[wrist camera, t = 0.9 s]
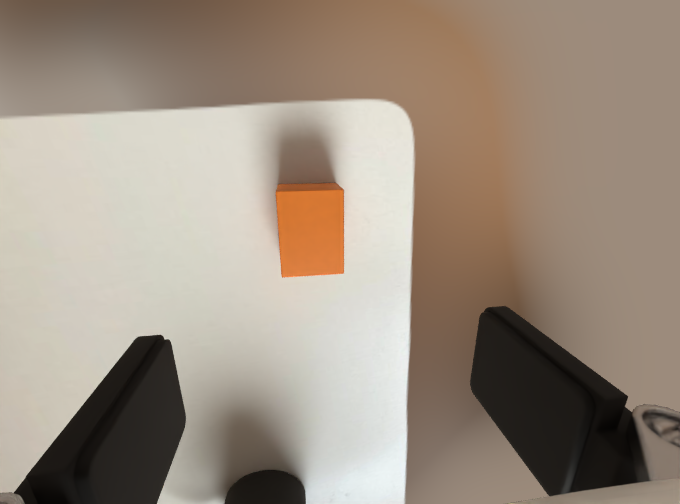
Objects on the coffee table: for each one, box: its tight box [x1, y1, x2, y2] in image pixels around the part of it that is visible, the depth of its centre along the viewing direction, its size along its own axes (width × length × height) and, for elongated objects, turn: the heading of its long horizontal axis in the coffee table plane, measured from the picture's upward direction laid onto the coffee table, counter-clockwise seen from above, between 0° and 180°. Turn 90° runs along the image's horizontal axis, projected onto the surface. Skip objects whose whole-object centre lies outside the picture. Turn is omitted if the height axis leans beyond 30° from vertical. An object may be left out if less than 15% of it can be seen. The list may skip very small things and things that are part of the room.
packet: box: [276, 183, 344, 277], centre depth 23 cm, size 4×6×4 cm
